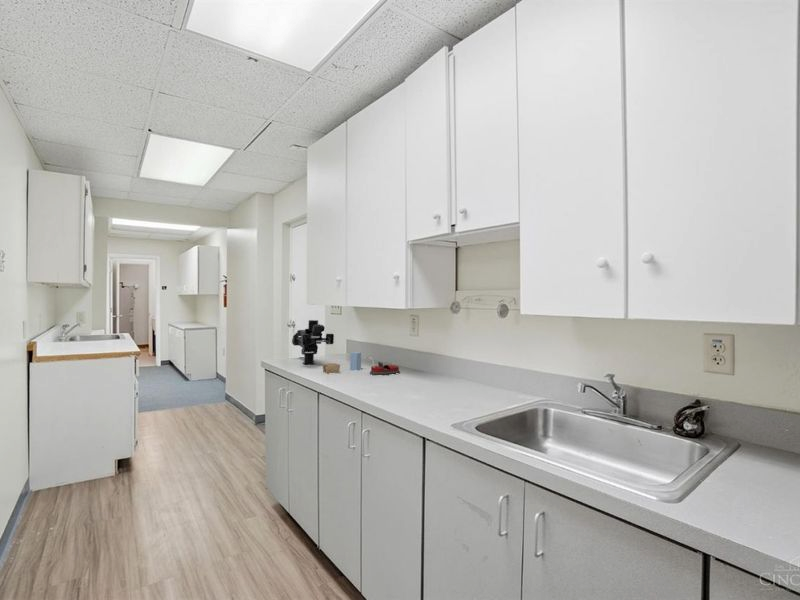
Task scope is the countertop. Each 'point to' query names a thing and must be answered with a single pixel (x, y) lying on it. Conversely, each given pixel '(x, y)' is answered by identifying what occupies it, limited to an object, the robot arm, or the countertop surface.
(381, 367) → the bumper car
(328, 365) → the slab top
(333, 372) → the slab bottom
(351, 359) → the pillar
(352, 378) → the countertop surface
